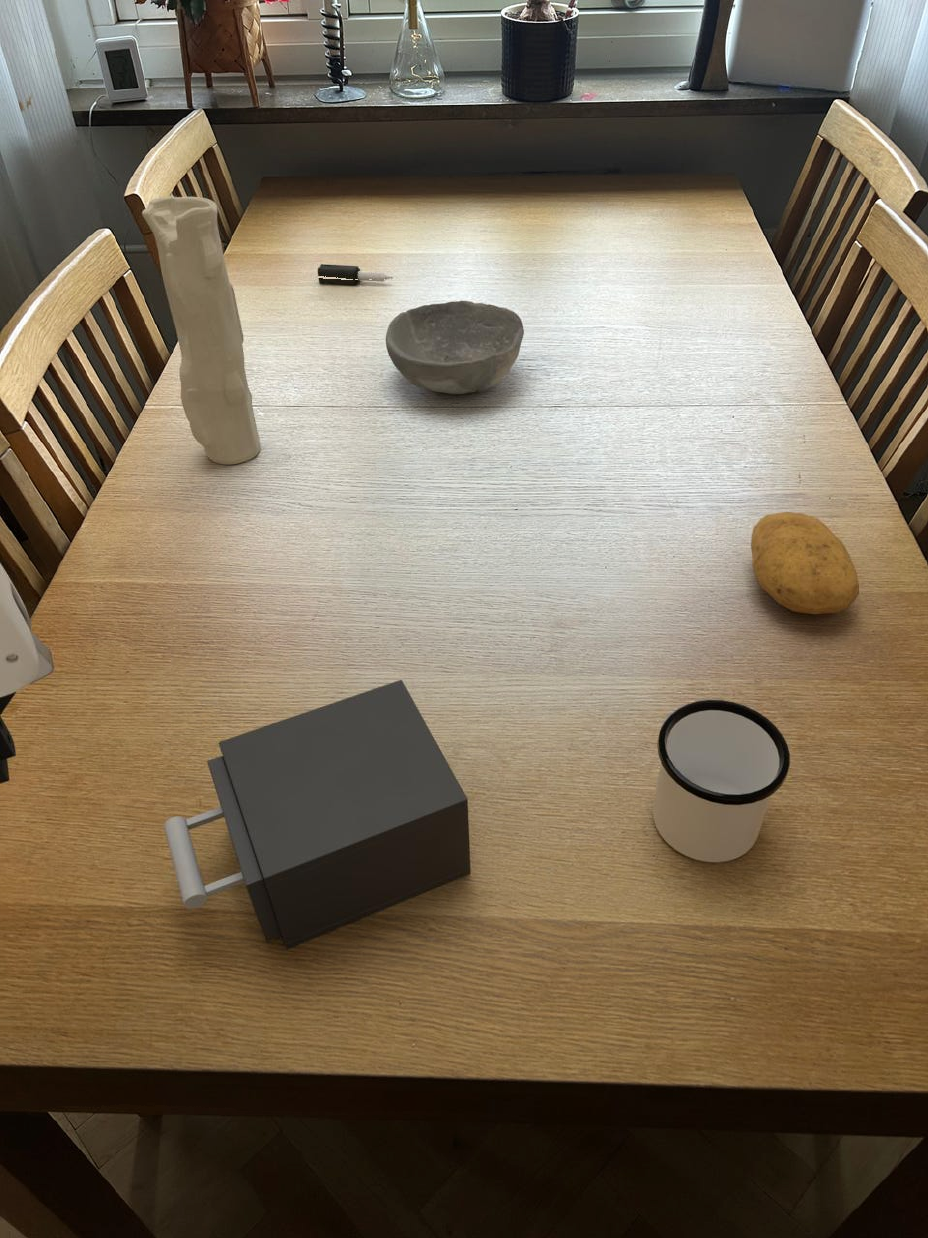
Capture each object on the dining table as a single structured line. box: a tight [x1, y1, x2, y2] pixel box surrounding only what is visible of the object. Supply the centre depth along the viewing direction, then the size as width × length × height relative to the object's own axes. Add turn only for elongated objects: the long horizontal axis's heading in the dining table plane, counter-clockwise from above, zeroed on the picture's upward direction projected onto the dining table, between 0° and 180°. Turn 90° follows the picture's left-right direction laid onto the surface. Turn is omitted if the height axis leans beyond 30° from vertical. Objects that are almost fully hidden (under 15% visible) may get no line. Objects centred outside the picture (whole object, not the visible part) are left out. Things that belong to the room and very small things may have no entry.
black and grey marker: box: [317, 263, 394, 286], centre depth 148 cm, size 2×2×12 cm
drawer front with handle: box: [163, 755, 283, 944], centre depth 69 cm, size 18×11×8 cm, turn 114°
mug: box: [651, 698, 791, 863], centre depth 72 cm, size 12×10×9 cm
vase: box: [141, 195, 261, 465], centre depth 104 cm, size 9×8×30 cm
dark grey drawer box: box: [218, 679, 472, 950], centre depth 70 cm, size 15×13×10 cm
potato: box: [750, 511, 860, 615], centre depth 91 cm, size 9×13×7 cm
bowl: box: [385, 300, 525, 395], centre depth 123 cm, size 18×18×8 cm
